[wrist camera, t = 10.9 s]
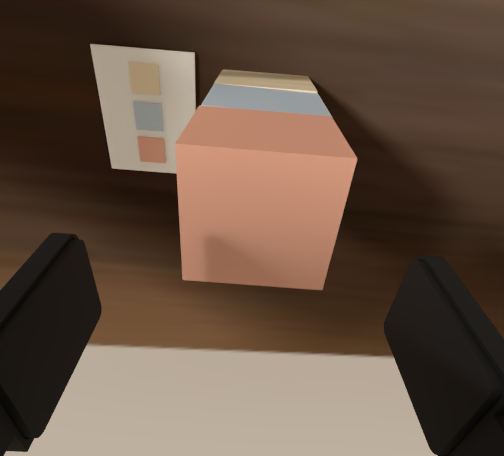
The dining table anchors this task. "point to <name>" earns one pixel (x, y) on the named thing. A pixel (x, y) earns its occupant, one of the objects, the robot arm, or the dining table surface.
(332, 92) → the dining table surface
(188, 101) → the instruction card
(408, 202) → the dining table surface
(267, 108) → the slate blue brick
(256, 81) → the maple brick
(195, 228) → the terracotta brick
